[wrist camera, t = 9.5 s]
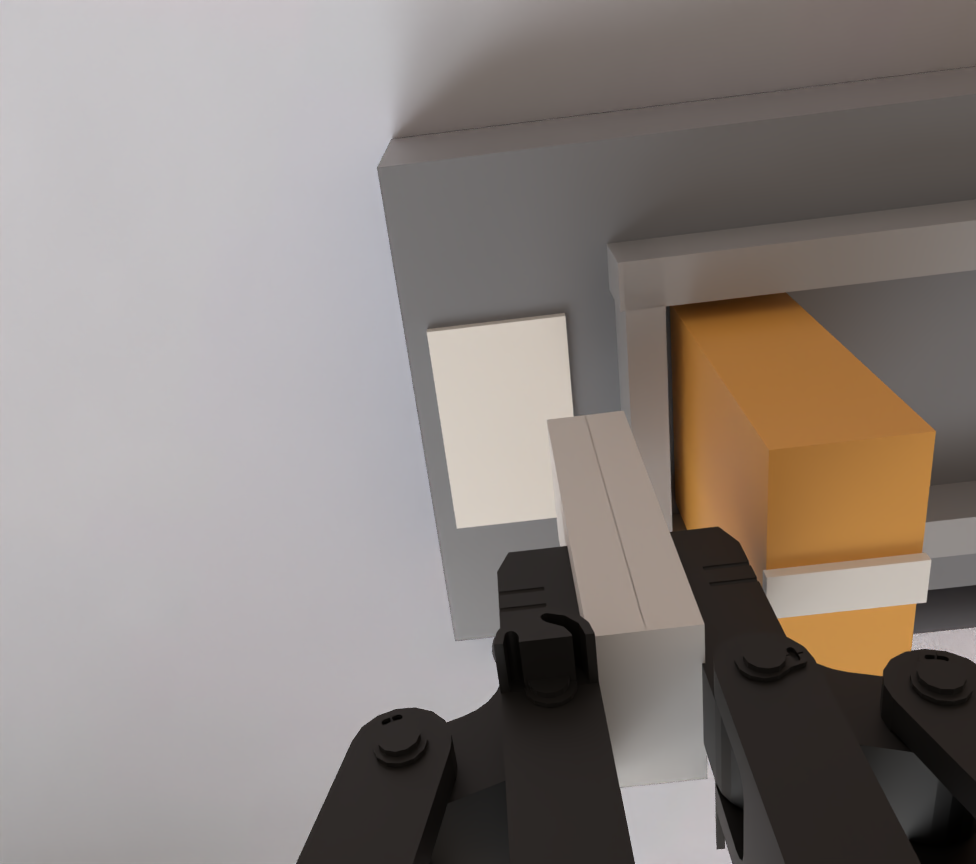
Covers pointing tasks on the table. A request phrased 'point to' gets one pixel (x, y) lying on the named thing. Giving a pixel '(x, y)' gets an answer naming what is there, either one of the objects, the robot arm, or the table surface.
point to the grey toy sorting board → (676, 286)
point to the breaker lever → (804, 473)
